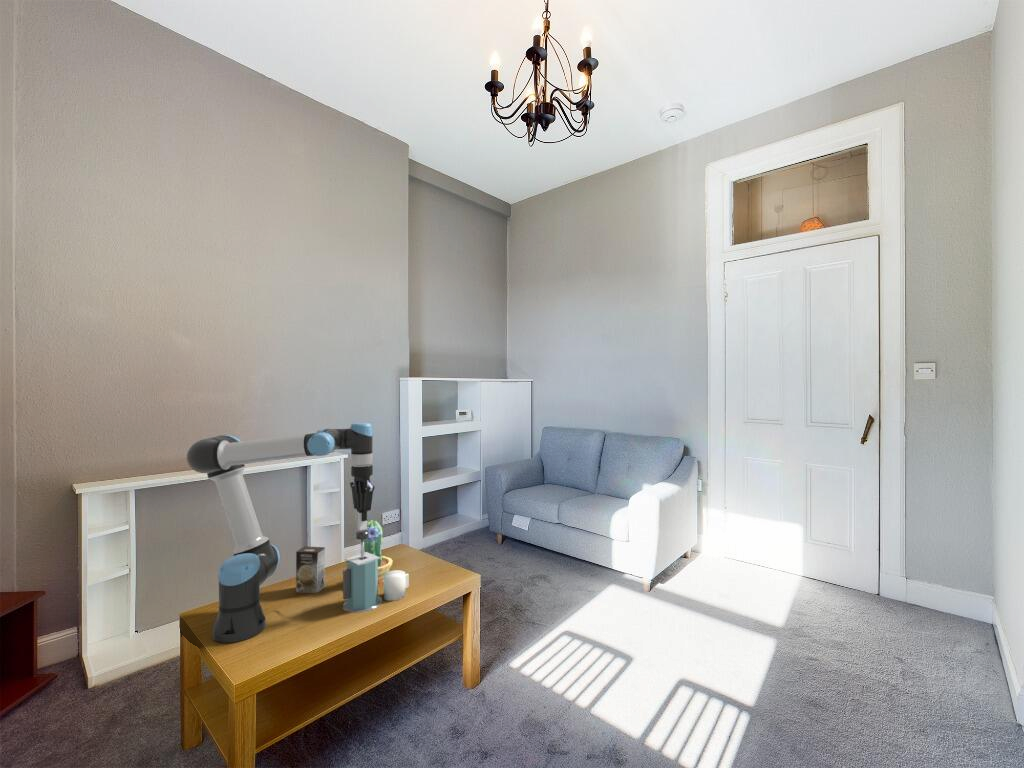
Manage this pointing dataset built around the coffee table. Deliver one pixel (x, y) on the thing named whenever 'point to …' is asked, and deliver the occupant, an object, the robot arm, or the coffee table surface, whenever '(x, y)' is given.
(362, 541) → the plunger
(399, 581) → the mug
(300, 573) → the coffee box
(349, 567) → the carafe
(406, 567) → the coffee table surface
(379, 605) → the trivet
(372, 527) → the potted cactus
